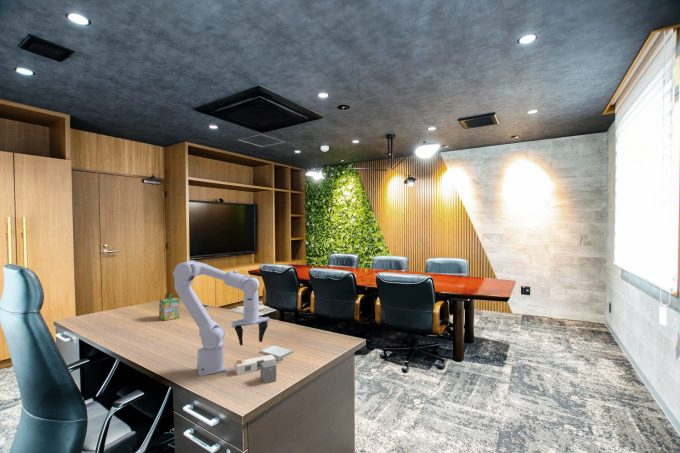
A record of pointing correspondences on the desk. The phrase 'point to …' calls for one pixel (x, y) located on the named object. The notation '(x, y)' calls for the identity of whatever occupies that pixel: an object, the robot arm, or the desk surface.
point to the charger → (268, 371)
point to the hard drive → (276, 351)
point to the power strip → (252, 364)
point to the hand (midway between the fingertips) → (250, 343)
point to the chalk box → (169, 308)
